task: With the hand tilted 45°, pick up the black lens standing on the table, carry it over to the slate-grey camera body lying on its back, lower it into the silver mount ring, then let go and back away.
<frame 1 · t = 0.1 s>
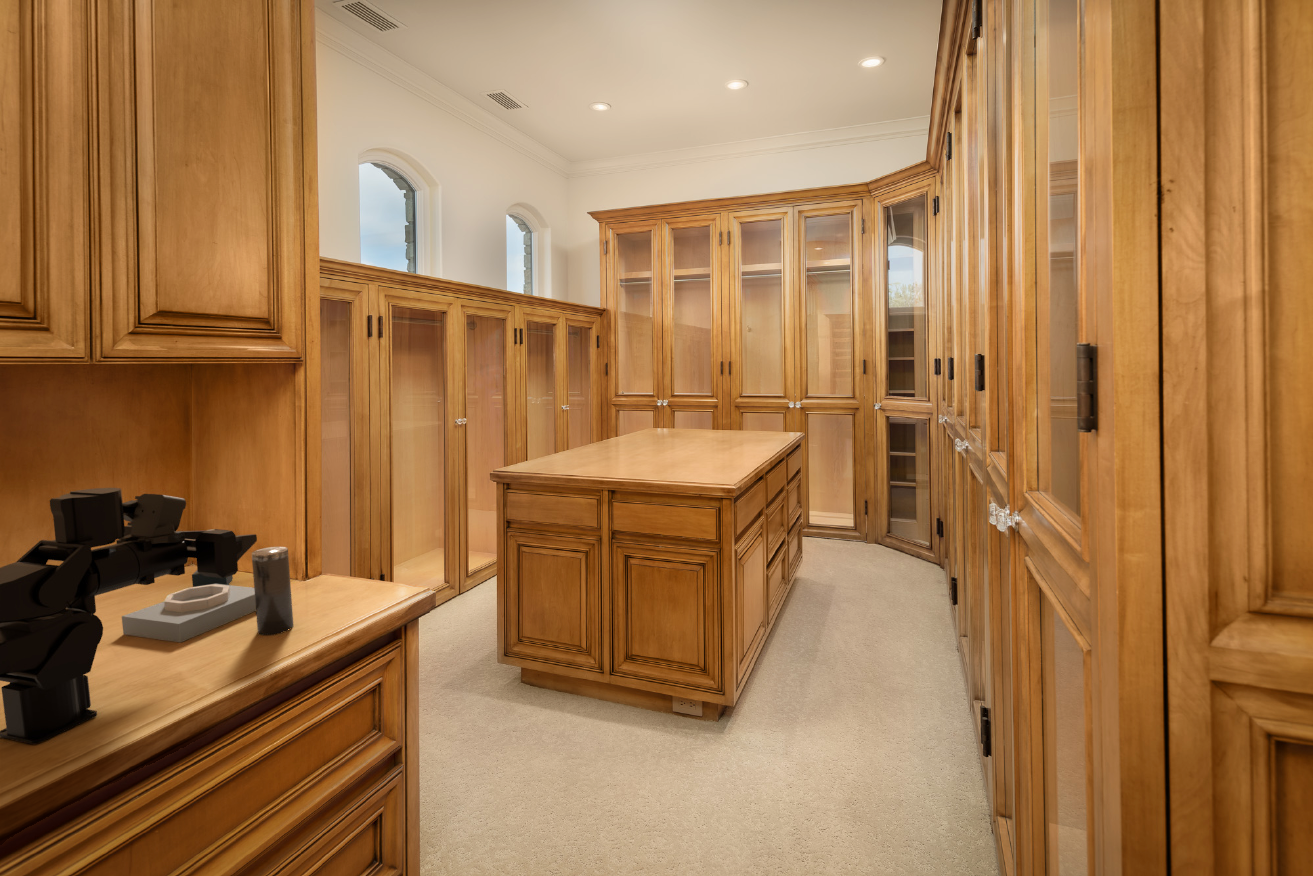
hand: (232, 535, 98), 17 cm above the cabinet, tool horizontal, fingers open, 9 cm apart
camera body: (200, 619, 108), on the cabinet
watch: (213, 586, 125), on the cabinet
lens: (275, 628, 104), on the cabinet
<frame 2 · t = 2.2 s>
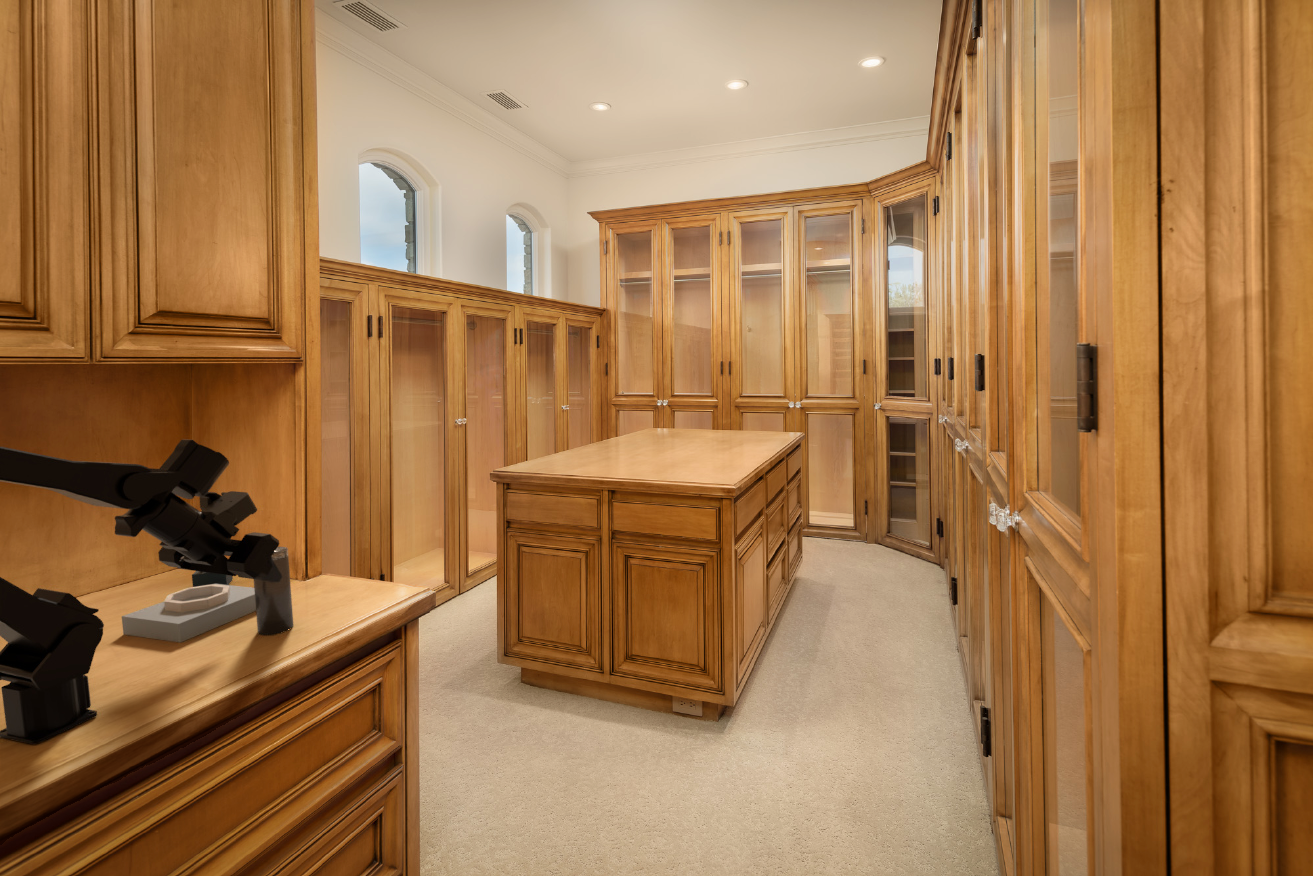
hand: (258, 576, 100), 10 cm above the cabinet, tool tilted 45°, fingers open, 9 cm apart
nothing on the cabinet moved.
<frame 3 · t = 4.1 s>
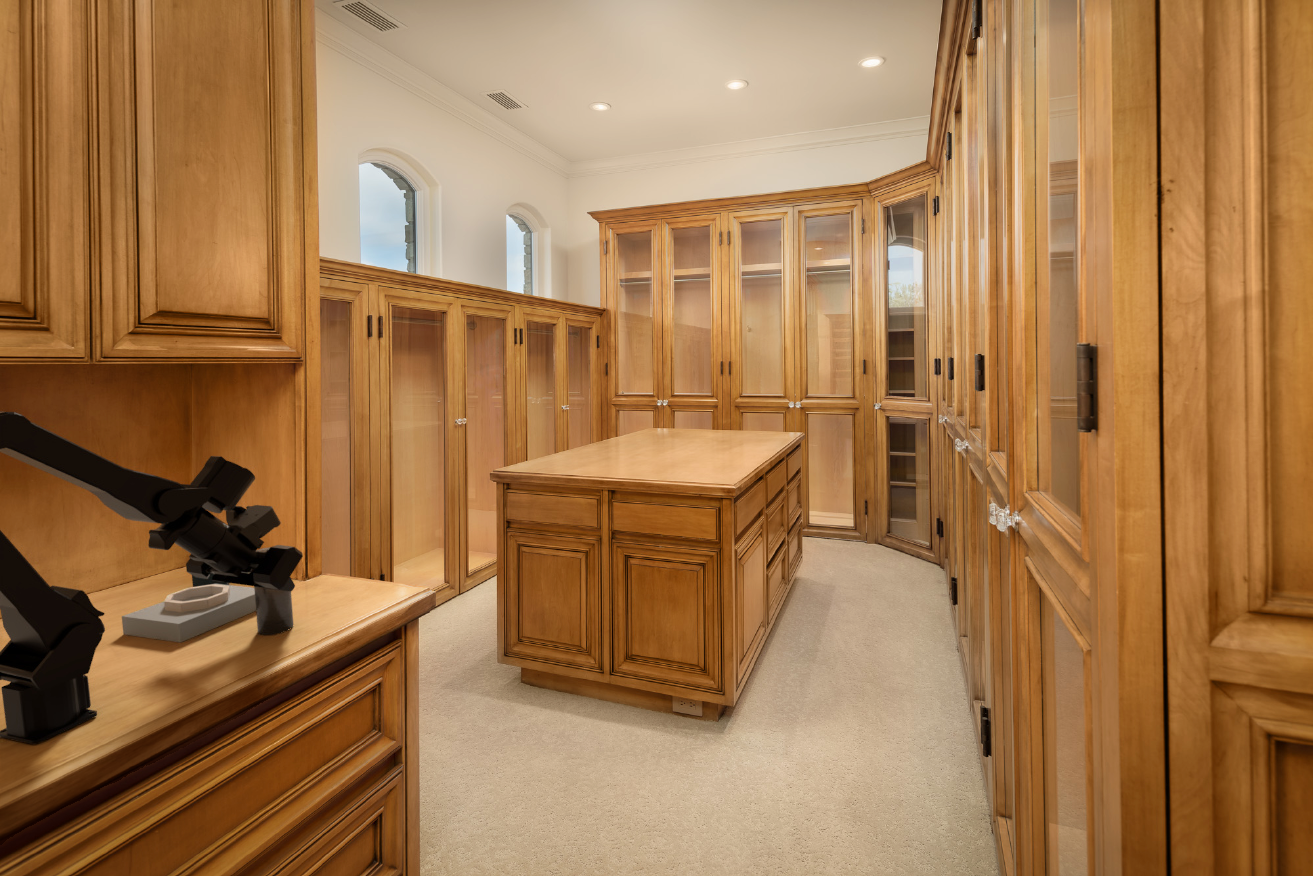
hand: (280, 586, 104), 7 cm above the cabinet, tool tilted 45°, fingers closed on lens, 5 cm apart
lens: (275, 628, 104), on the cabinet, touching gripper
everything else where it was.
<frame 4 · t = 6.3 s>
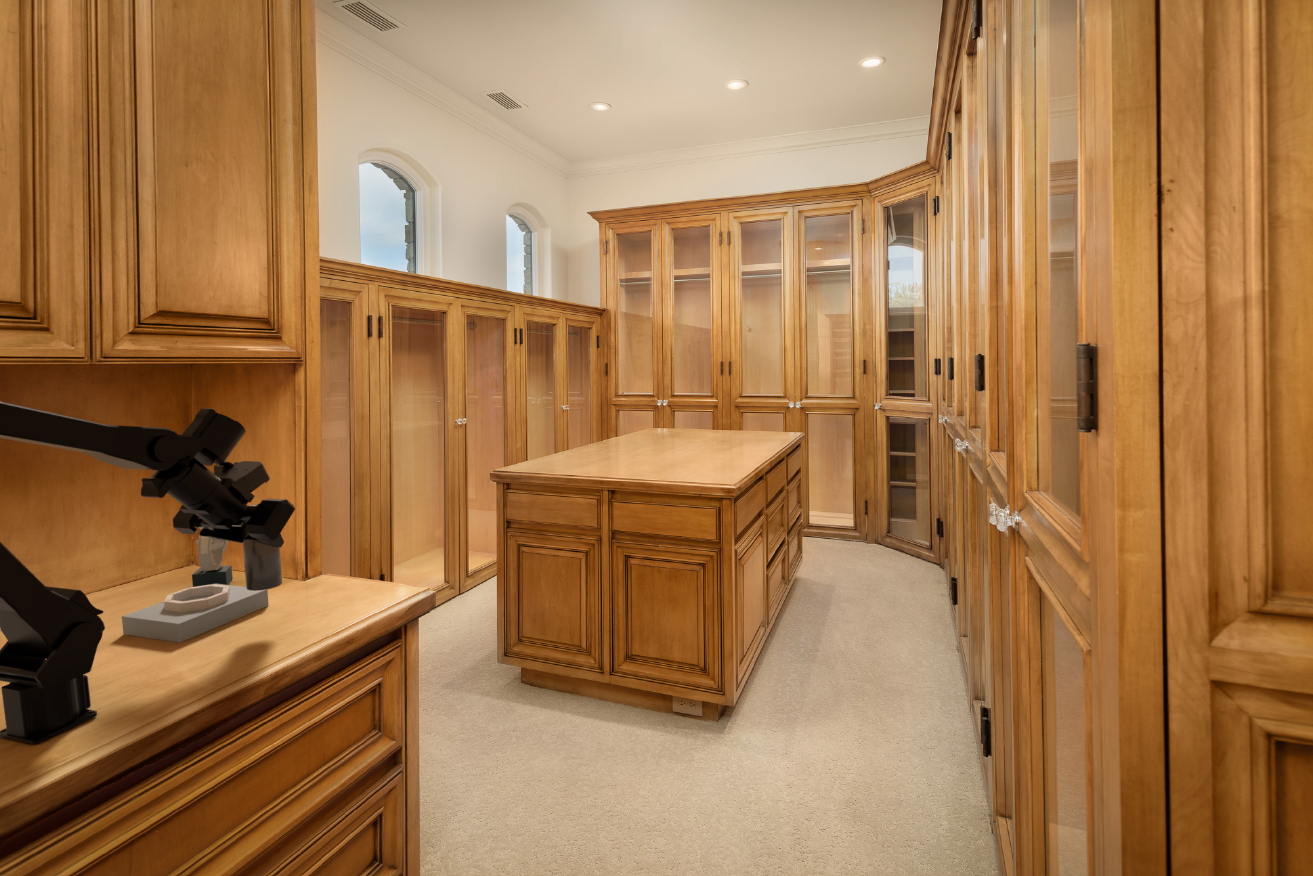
hand: (268, 543, 105), 14 cm above the cabinet, tool tilted 45°, fingers closed on lens, 5 cm apart
lens: (264, 585, 104), point 7 cm above the cabinet, touching gripper
everything else where it was.
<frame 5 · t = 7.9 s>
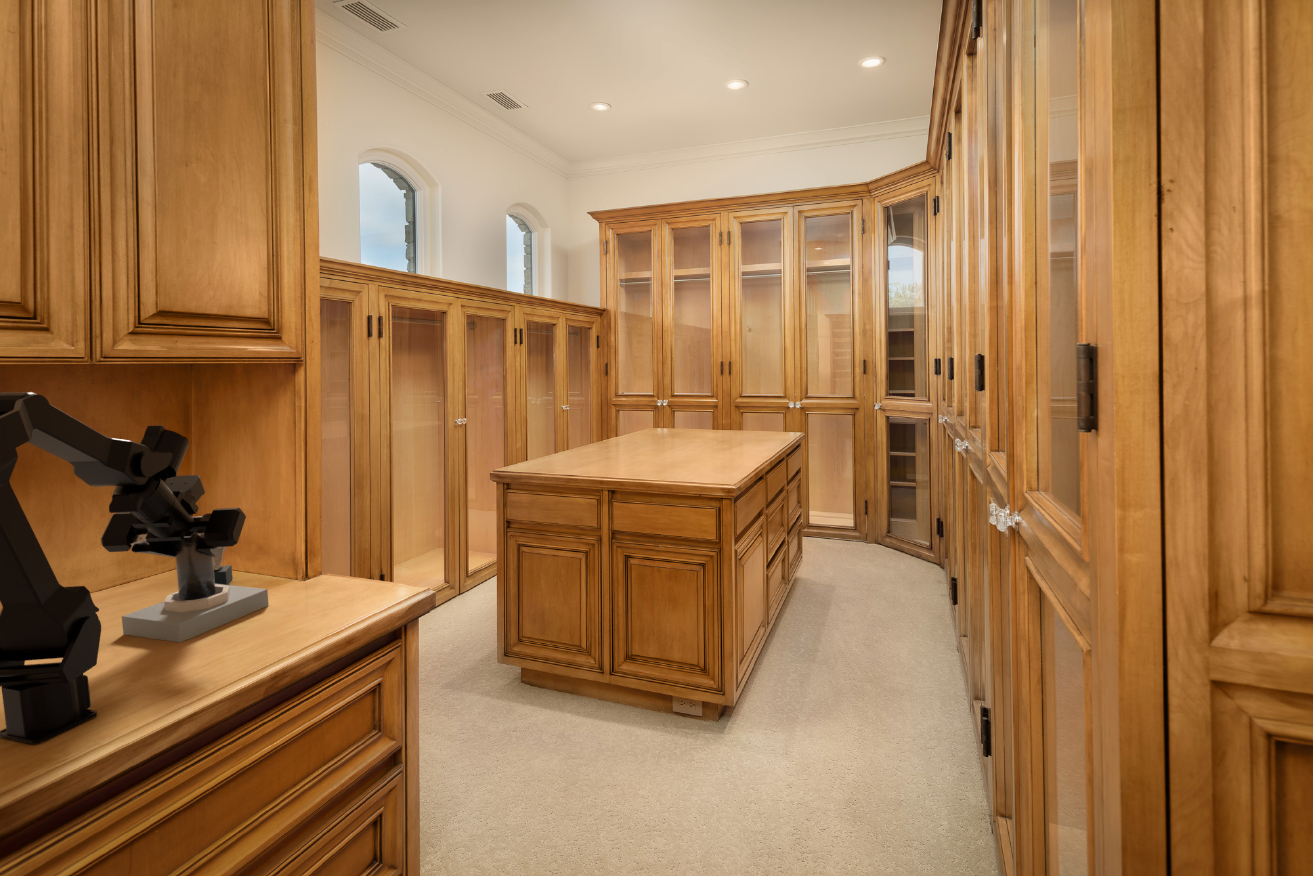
hand: (198, 554, 108), 11 cm above the cabinet, tool tilted 45°, fingers closed on lens, 5 cm apart
lens: (197, 595, 107), point 4 cm above the cabinet, touching gripper
everything else where it was.
when the fingers open (10 cm above the cabinet, at t = 8.7 s): lens stays where it is, resting on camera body.
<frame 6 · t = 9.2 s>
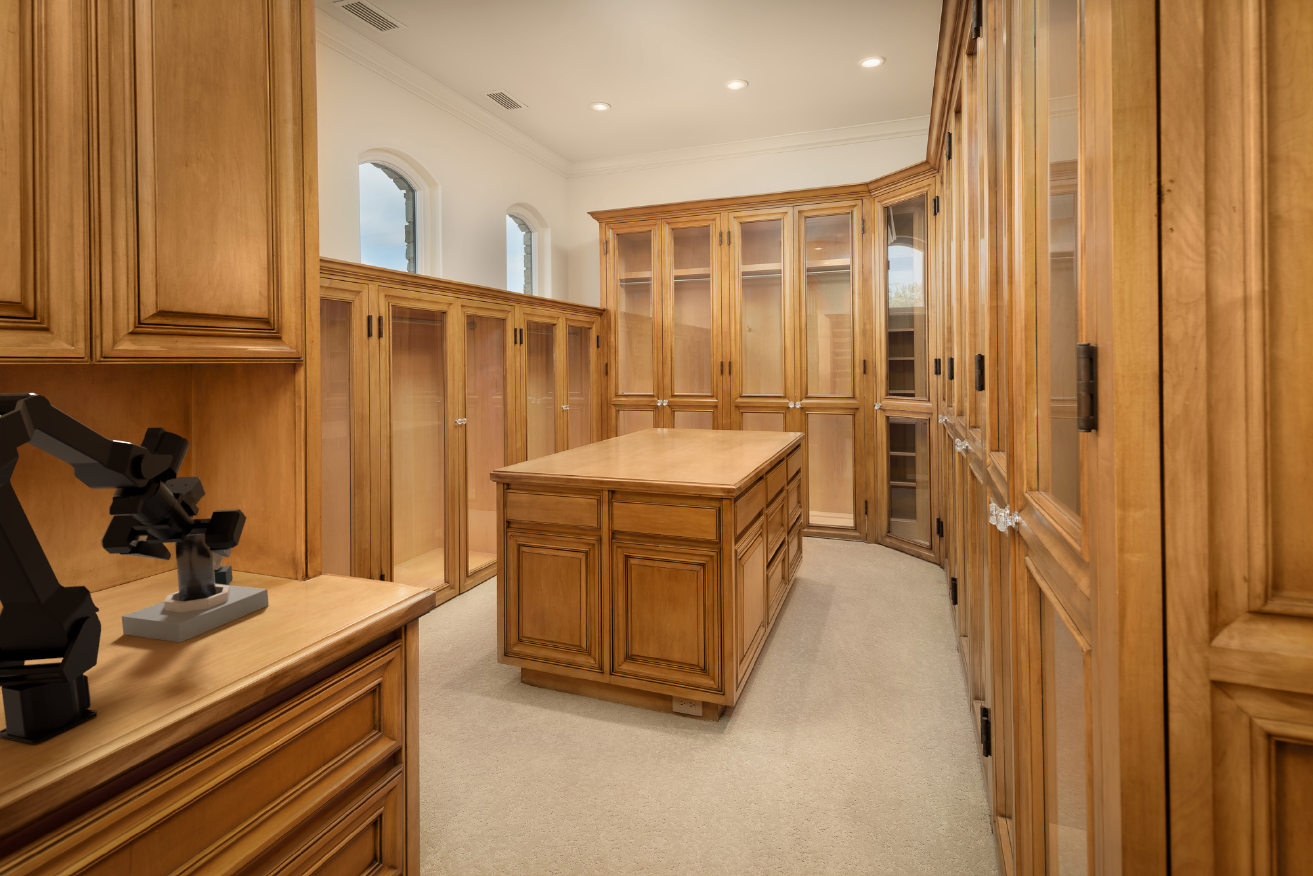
hand: (199, 556, 108), 11 cm above the cabinet, tool tilted 45°, fingers open, 9 cm apart
lens: (198, 602, 108), point 3 cm above the cabinet, touching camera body
everything else where it was.
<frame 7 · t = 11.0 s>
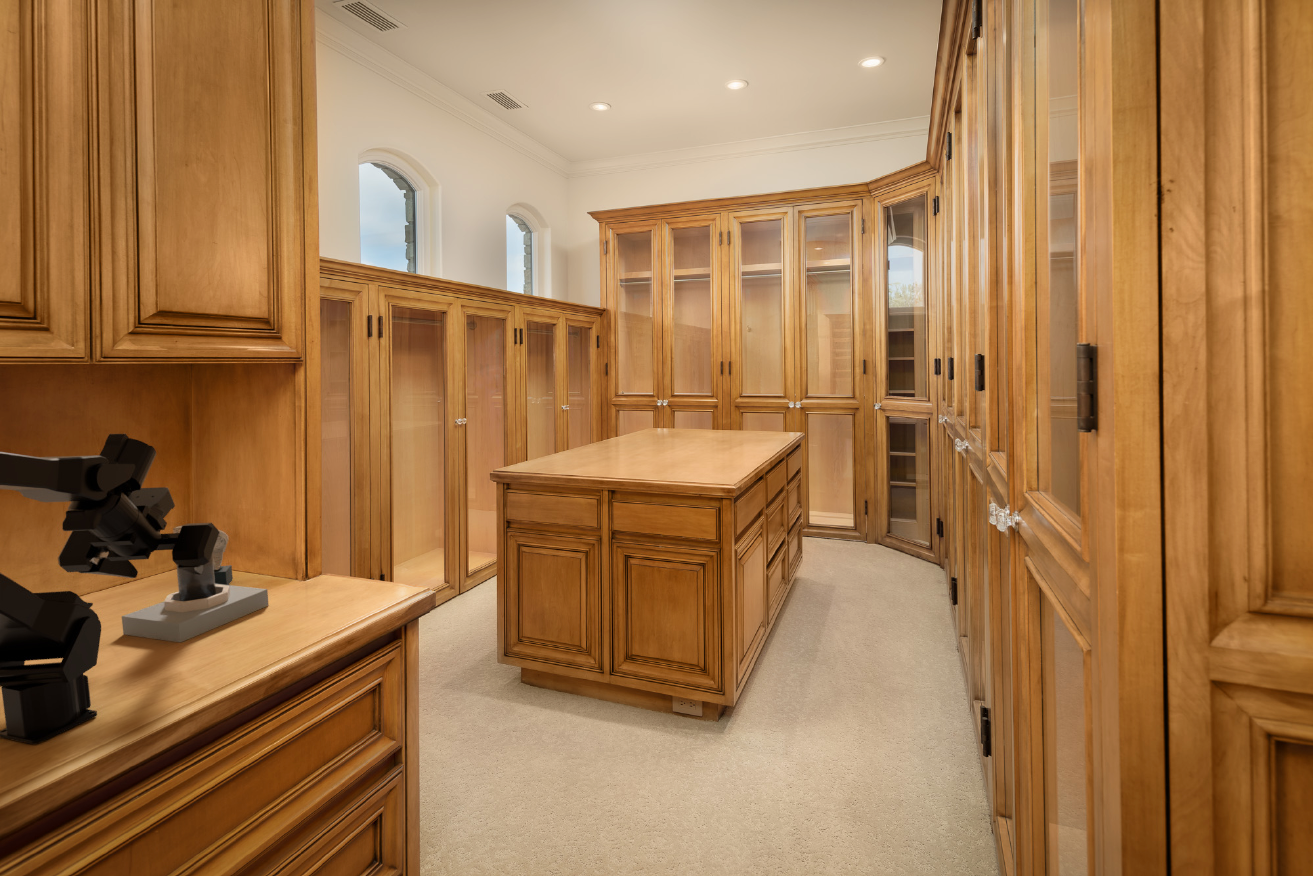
hand: (168, 573, 100), 10 cm above the cabinet, tool tilted 45°, fingers open, 9 cm apart
nothing on the cabinet moved.
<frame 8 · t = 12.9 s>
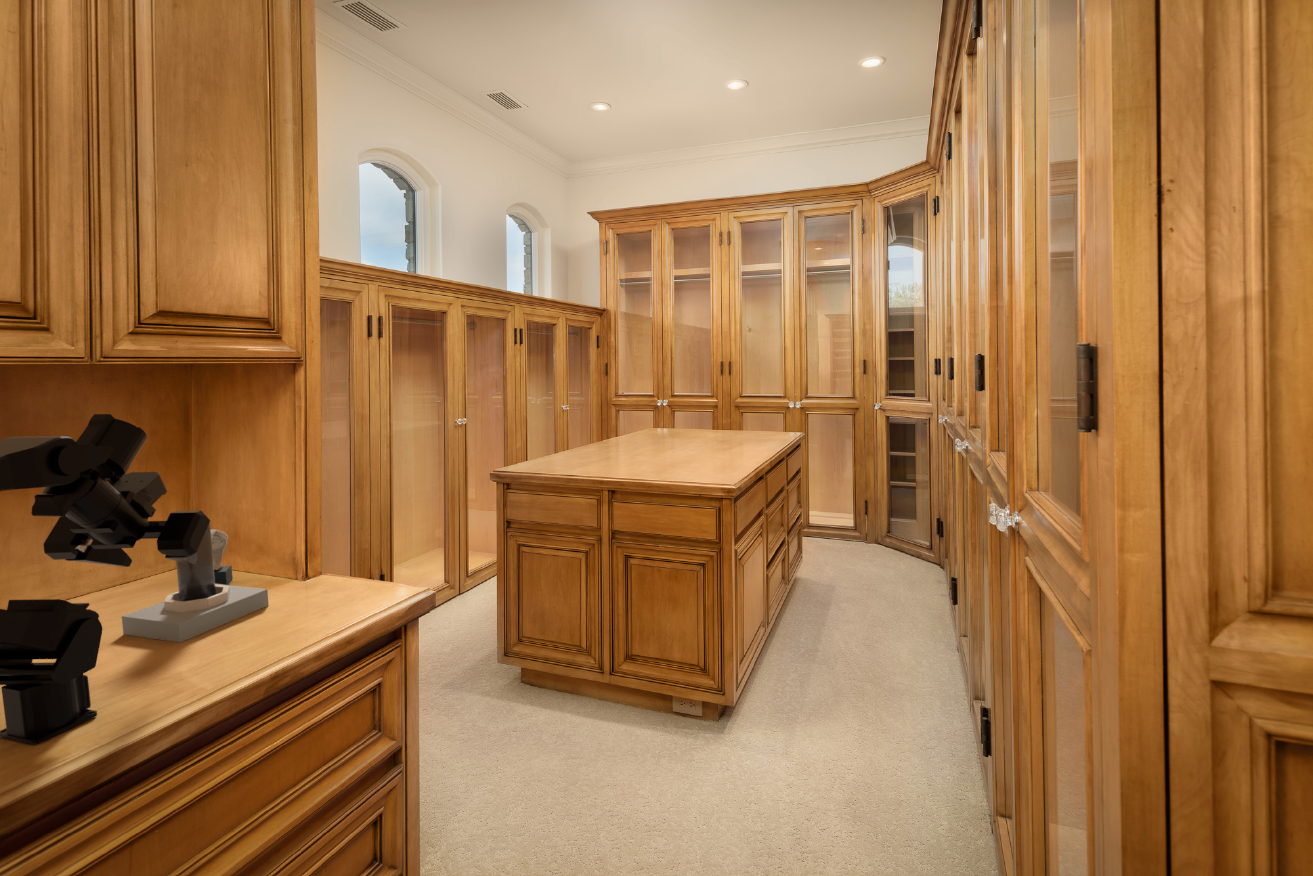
hand: (162, 562, 94), 14 cm above the cabinet, tool tilted 45°, fingers open, 9 cm apart
nothing on the cabinet moved.
at the end: lens 0.0 cm off-centre on the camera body, point 3.0 cm above the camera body's base; lens tilted 0°; the gripper is holding nothing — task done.
